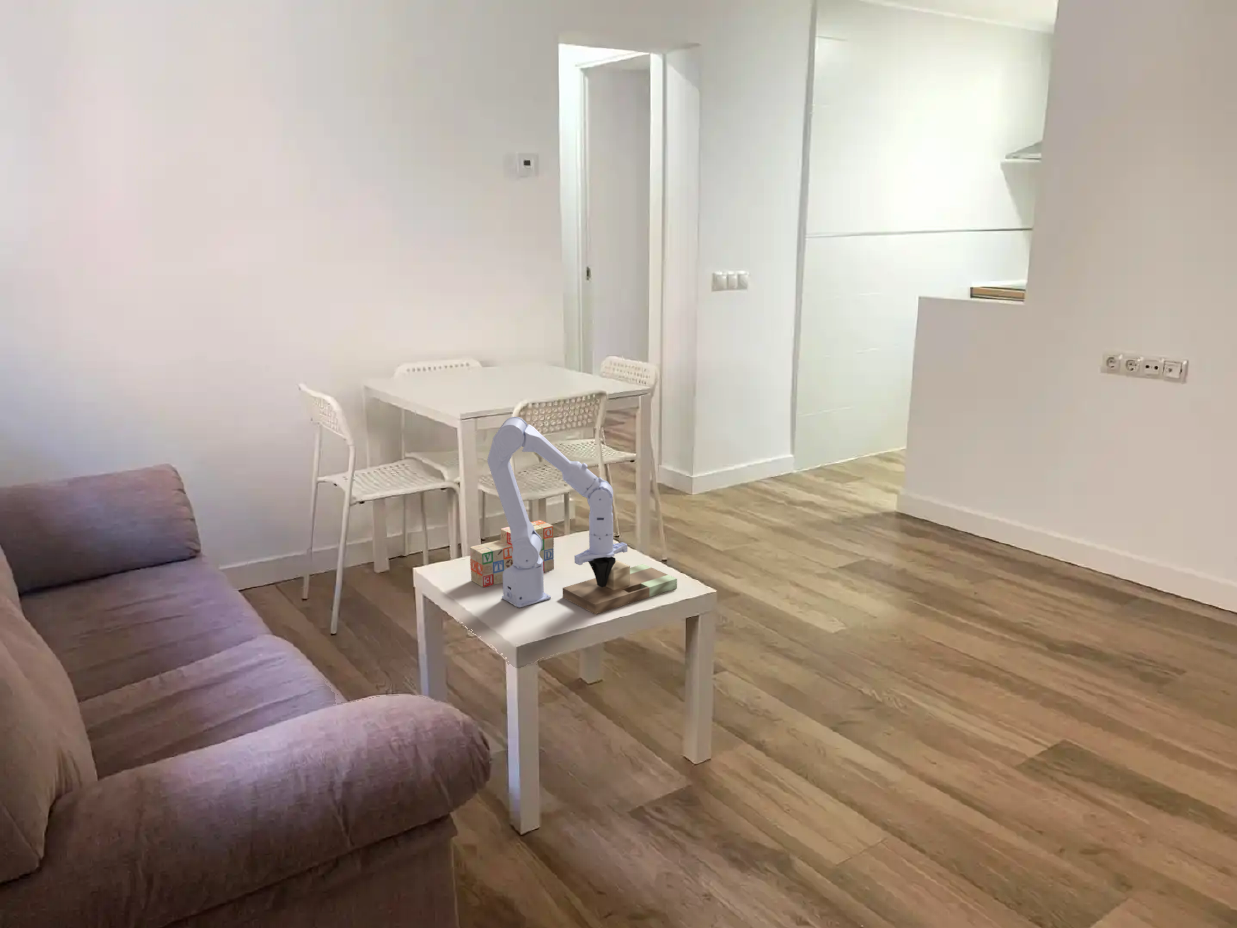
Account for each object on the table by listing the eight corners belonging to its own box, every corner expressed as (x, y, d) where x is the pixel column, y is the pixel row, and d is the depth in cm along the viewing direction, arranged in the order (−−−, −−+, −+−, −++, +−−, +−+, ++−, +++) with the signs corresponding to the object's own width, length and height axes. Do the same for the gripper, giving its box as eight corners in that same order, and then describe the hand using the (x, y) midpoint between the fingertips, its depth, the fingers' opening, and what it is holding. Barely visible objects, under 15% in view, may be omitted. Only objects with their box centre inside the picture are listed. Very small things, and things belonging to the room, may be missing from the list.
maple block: (613, 590, 231) (613, 570, 230) (601, 583, 235) (601, 564, 234) (629, 585, 234) (630, 565, 233) (617, 579, 238) (617, 560, 237)
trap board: (595, 614, 224) (595, 604, 223) (562, 597, 233) (562, 587, 233) (676, 587, 239) (677, 578, 238) (643, 572, 249) (643, 563, 248)
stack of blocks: (482, 588, 240) (480, 541, 236) (470, 581, 244) (468, 535, 241) (554, 569, 252) (553, 524, 249) (541, 562, 257) (540, 518, 254)
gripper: (586, 543, 221) (587, 598, 224) (635, 530, 230) (635, 583, 233) (568, 535, 226) (569, 589, 230) (617, 522, 235) (617, 574, 238)
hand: (601, 585), depth 232 cm, fingers closed
